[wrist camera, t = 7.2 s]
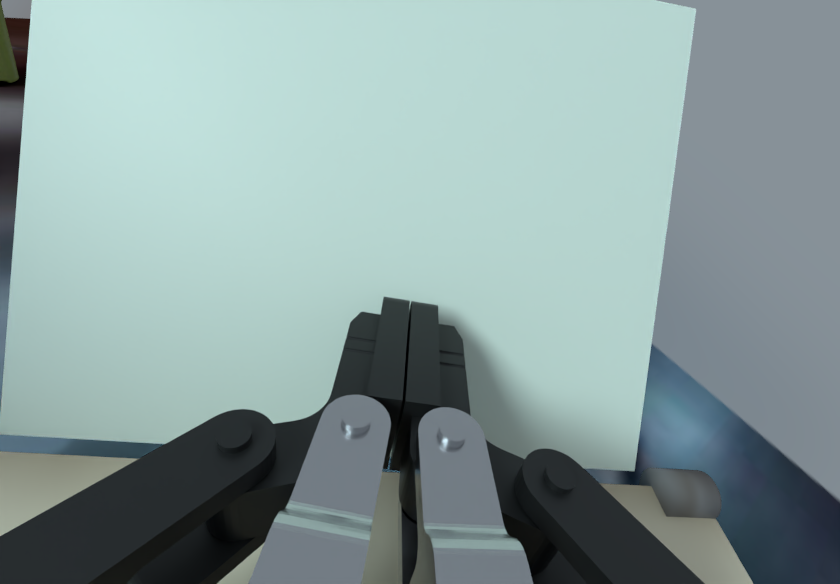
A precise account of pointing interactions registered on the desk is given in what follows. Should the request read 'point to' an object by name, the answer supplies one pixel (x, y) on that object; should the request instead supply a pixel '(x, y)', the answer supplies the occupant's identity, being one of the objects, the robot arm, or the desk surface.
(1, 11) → the plant pot
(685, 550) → the wooden base board
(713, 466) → the desk surface
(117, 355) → the panel
